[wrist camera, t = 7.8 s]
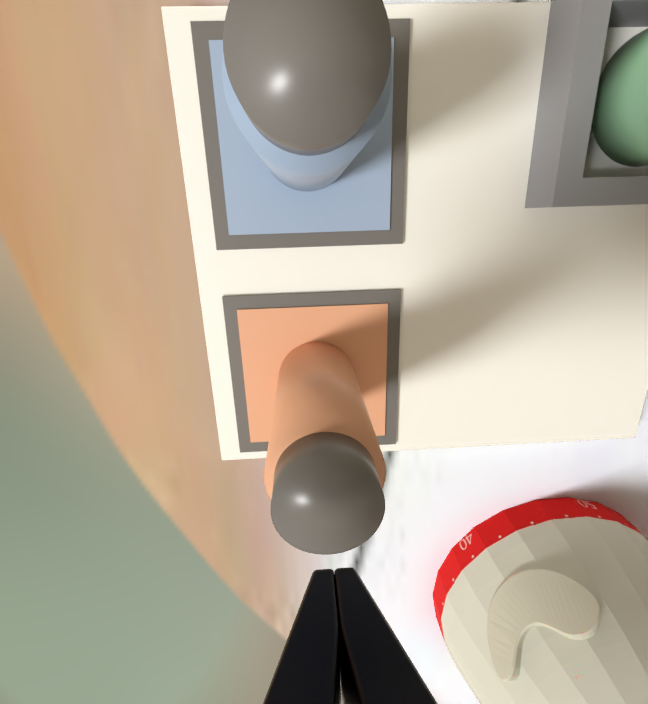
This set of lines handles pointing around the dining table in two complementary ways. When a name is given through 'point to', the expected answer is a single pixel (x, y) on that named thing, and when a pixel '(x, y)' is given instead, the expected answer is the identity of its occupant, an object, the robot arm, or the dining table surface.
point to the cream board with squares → (433, 235)
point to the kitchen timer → (548, 606)
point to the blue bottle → (307, 82)
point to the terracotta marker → (323, 454)
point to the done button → (624, 104)
